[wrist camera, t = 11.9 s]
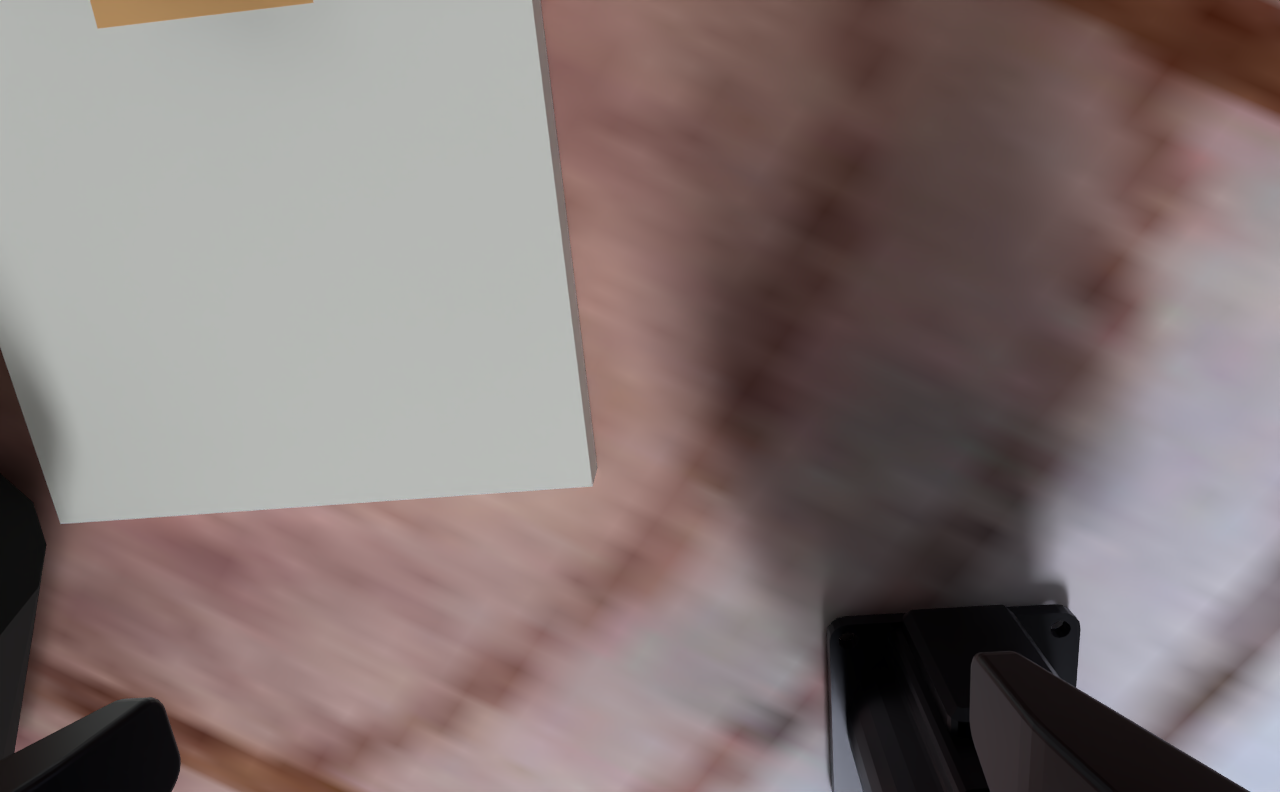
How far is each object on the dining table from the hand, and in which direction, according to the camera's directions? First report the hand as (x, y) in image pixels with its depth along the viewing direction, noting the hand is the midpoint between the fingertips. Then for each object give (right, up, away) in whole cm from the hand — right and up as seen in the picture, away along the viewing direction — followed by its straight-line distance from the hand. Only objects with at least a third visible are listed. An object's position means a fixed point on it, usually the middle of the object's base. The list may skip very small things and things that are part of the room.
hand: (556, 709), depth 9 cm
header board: (-8, +12, +9) cm, 17 cm away
